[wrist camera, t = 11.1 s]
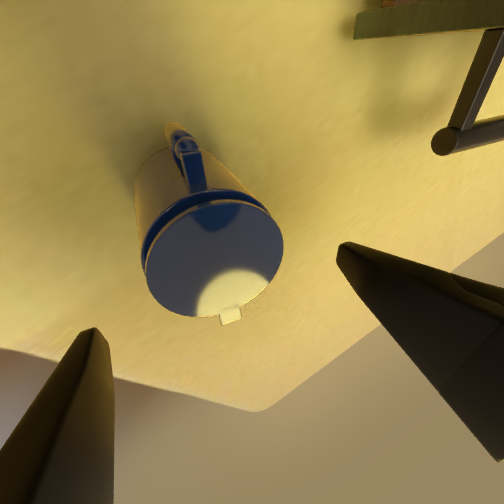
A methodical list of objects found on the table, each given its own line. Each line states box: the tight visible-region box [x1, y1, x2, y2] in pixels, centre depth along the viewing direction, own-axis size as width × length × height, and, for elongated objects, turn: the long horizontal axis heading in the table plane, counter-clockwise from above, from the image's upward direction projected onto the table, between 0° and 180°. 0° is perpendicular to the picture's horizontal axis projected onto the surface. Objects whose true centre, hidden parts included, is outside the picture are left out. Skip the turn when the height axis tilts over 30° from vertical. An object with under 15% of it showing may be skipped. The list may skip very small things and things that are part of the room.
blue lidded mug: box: [134, 122, 283, 326], centre depth 12 cm, size 8×6×7 cm
